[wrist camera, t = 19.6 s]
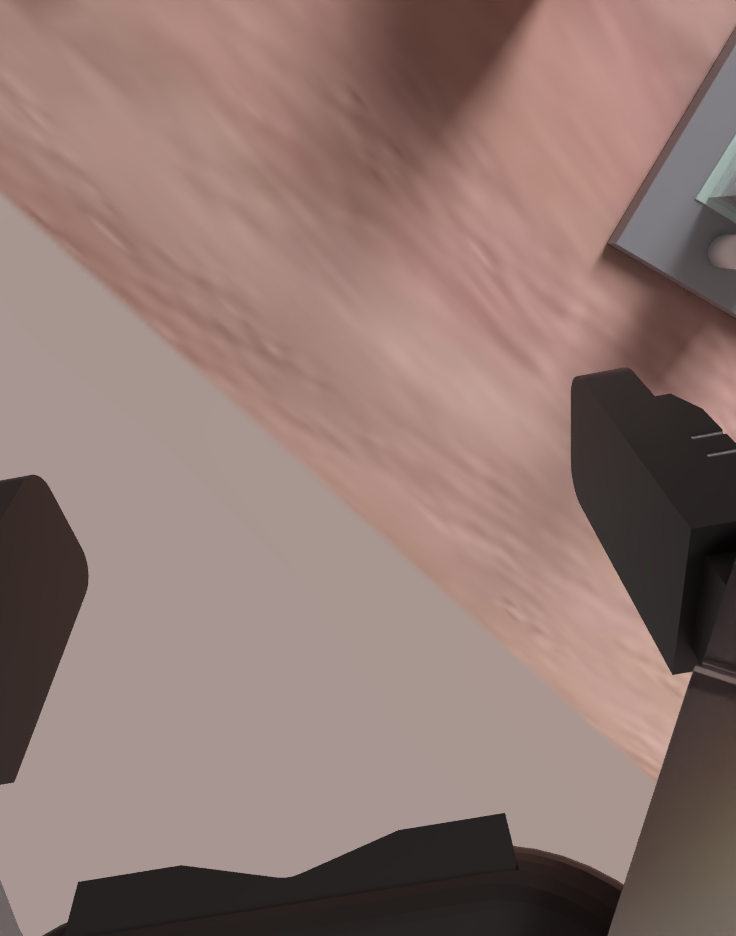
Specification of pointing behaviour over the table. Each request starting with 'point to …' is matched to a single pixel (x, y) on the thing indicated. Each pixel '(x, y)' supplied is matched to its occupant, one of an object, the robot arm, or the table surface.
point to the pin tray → (691, 196)
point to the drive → (726, 188)
